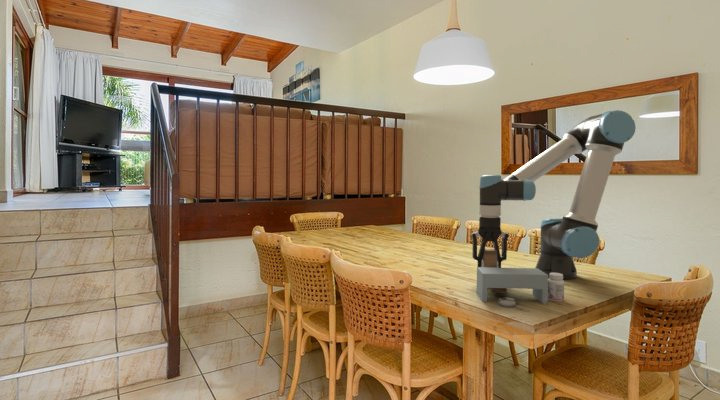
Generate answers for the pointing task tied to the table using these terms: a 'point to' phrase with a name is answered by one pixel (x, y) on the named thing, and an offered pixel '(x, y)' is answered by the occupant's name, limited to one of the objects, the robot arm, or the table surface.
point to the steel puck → (507, 302)
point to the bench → (512, 280)
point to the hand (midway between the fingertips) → (489, 278)
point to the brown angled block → (491, 261)
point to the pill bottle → (556, 287)
